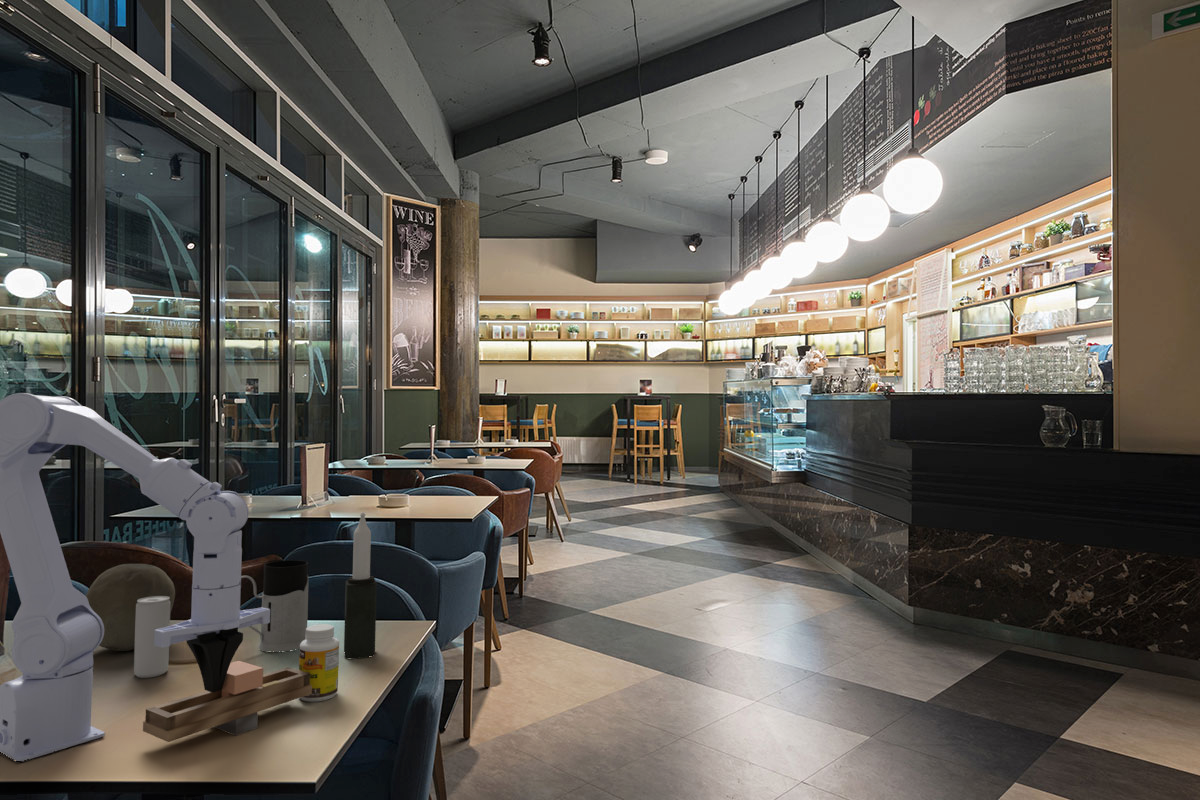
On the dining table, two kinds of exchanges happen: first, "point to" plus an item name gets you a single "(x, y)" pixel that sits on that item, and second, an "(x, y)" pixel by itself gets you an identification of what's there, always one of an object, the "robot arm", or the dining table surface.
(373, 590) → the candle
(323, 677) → the supplement bottle
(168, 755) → the dining table surface
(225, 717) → the beam
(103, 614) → the cantaloupe
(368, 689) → the dining table surface
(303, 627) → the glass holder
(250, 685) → the rider
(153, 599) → the beverage can
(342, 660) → the dining table surface
